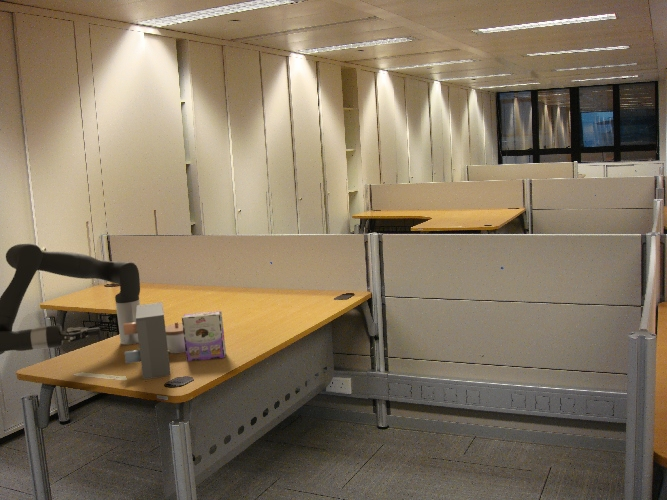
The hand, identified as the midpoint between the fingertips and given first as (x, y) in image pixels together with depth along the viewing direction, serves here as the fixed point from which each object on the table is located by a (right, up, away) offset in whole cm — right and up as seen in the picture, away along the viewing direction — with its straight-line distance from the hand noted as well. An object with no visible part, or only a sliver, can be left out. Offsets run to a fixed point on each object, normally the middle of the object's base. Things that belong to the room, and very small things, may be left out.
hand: (99, 330), depth 232 cm
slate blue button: (+15, -10, -7) cm, 19 cm away
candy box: (+36, -11, +9) cm, 39 cm away
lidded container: (+23, -10, +21) cm, 33 cm away
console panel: (+20, -13, +1) cm, 24 cm away
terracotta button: (+11, -1, +3) cm, 11 cm away
